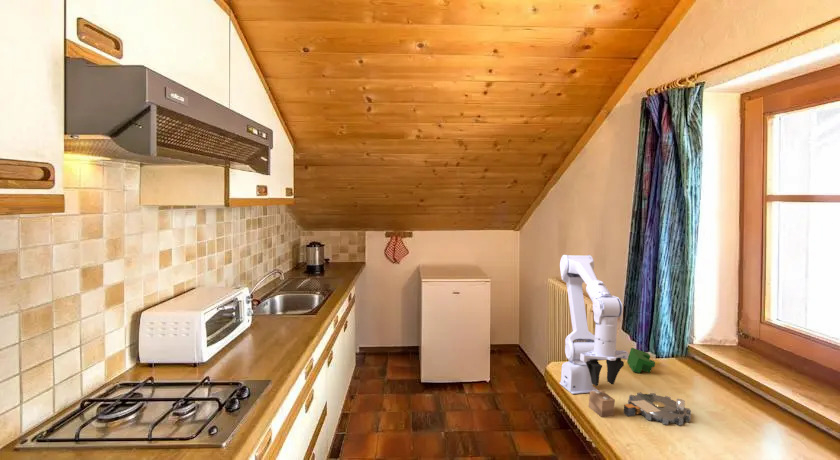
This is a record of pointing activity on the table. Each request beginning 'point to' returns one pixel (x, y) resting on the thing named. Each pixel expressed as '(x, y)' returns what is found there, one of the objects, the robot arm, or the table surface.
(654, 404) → the sprocket disc
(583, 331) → the robot arm
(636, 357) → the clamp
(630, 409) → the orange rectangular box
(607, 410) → the link block
